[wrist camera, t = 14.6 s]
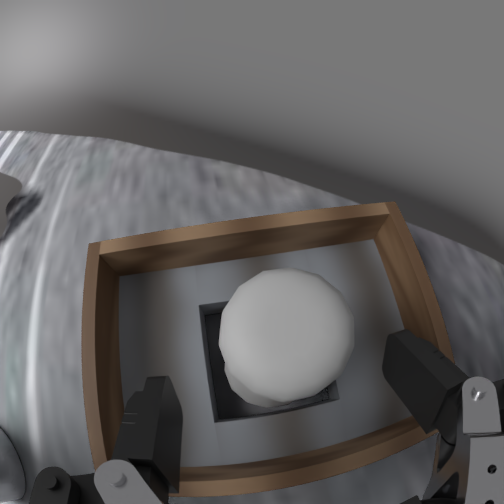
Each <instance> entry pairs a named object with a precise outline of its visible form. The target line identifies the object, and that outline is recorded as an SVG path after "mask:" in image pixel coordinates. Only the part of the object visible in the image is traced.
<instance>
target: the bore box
mask: <svg viewBox="0 0 504 504" xmlns="http://www.w3.org/2000/svg"><path fill="white" fill-rule="evenodd" d="M290 267H292V268H296V269H300V270H304V271H308V272H312V273H315V274H319V275H320V276H322V277H323V278H324V279H325V280H326V281H328V282H329V283H330V284H331V285H333V286H334V287H335V288H336V289H337V290H339V291H340V292H341V293H342V295H343V297H344V299H345V301H346V303H347V305H348V307H349V309H350V311H351V312H352V314H353V316H354V348H353V351H352V353H351V355H350V357H349V360H348V362H347V364H346V366H345V368H344V371H343V373H342V374H341V375H340V376H339V377H338V378H337V379H336V380H334V381H333V382H332V383H331V384H329V385H328V386H327V387H328V392H329V397H330V399H328V400H325V401H321V402H317V403H313V404H308V405H304V406H300V407H295V408H290V409H285V410H280V411H275V412H269V413H263V414H257V415H251V416H244V417H236V418H228V419H219V416H218V410H217V404H216V398H215V392H214V385H213V378H212V371H211V364H210V357H209V349H208V341H207V333H206V325H205V316H204V315H209V314H217V313H222V312H223V310H224V308H225V307H226V305H227V304H228V302H229V301H230V299H231V298H232V296H233V295H234V293H235V292H236V290H237V289H238V287H239V286H240V285H242V284H244V283H245V282H247V281H248V280H250V279H251V278H253V277H255V276H256V275H258V274H259V273H261V272H262V271H267V270H275V269H282V268H290ZM403 329H408V330H409V331H411V332H412V333H413V334H414V335H415V336H416V337H417V338H419V337H420V338H422V339H425V340H427V341H429V342H431V343H432V344H433V345H434V346H435V347H436V348H438V349H439V351H441V352H442V353H443V354H444V355H445V357H447V358H449V359H450V360H451V361H452V362H453V363H454V364H455V361H454V357H453V353H452V349H451V345H450V341H449V337H448V334H447V330H446V327H445V323H444V320H443V317H442V314H441V311H440V307H439V304H438V301H437V298H436V296H435V293H434V290H433V287H432V284H431V282H430V279H429V276H428V274H427V271H426V269H425V266H424V264H423V261H422V259H421V256H420V254H419V251H418V249H417V247H416V244H415V242H414V240H413V238H412V235H411V233H410V231H409V229H408V227H407V225H406V222H405V220H404V218H403V216H402V214H401V212H400V210H399V208H398V206H397V204H396V202H384V203H374V204H362V205H352V206H343V207H333V208H324V209H315V210H306V211H298V212H289V213H281V214H273V215H266V216H258V217H251V218H243V219H236V220H229V221H222V222H215V223H208V224H202V225H195V226H188V227H182V228H176V229H170V230H163V231H157V232H151V233H145V234H140V235H134V236H128V237H123V238H117V239H111V240H106V241H101V242H95V243H90V244H89V247H88V254H87V262H86V270H85V280H84V292H83V307H82V379H83V393H84V405H85V414H86V422H87V429H88V436H89V442H90V448H91V454H92V459H93V464H94V468H95V472H96V470H97V469H98V467H99V466H100V465H102V464H103V463H105V462H107V461H110V460H111V458H112V455H113V451H114V447H115V443H116V439H117V435H118V432H119V428H120V425H121V424H122V422H121V421H122V418H123V415H124V411H125V407H126V404H127V401H128V400H129V399H130V397H131V396H132V395H133V394H134V393H135V391H143V389H144V385H145V382H146V379H147V377H153V376H169V377H170V379H171V381H172V384H173V386H174V389H175V392H176V394H177V397H178V399H179V402H180V404H181V407H182V412H183V428H182V443H181V460H180V482H179V494H177V493H169V496H170V497H210V496H228V495H239V494H248V493H256V492H264V491H270V490H276V489H282V488H287V487H292V486H297V485H301V484H306V483H310V482H314V481H318V480H321V479H325V478H329V477H332V476H336V475H339V474H342V473H345V472H348V471H351V470H354V469H357V468H360V467H363V466H366V465H368V464H371V463H374V462H376V461H379V460H381V459H384V458H386V457H388V456H391V455H393V454H395V453H398V452H400V451H402V450H404V449H406V448H408V447H410V446H412V445H415V444H417V443H419V442H420V441H422V440H424V439H426V438H428V437H430V436H432V435H434V434H435V433H437V432H439V431H438V430H437V429H436V430H434V431H432V432H430V433H428V434H427V435H426V433H425V432H424V430H423V429H422V428H421V426H420V425H419V424H418V422H417V421H416V419H415V418H414V417H413V415H412V414H411V413H410V411H409V410H408V409H407V407H406V406H405V405H404V403H403V402H402V401H401V399H400V398H399V397H398V395H397V394H396V393H395V391H394V390H393V389H392V387H391V386H390V385H389V383H388V382H387V381H386V379H385V378H384V375H383V371H382V363H383V358H384V352H385V346H386V340H387V336H388V335H389V334H391V333H394V332H397V331H400V330H403Z"/></svg>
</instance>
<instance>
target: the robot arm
mask: <svg viewBox="0 0 504 504" xmlns="http://www.w3.org/2000/svg"><path fill="white" fill-rule="evenodd" d="M382 371H383V375H384V378H385V379H386V381H387V382H388V383H389V385H390V386H391V387H392V389H393V390H394V391H395V393H396V394H397V395H398V397H399V398H400V399H401V401H402V402H403V403H404V405H405V406H406V407H407V409H408V410H409V411H410V413H411V414H412V415H413V417H414V418H415V419H416V421H417V422H418V424H419V425H420V426H421V428H422V429H423V430H424V432H425V433H426V435H427V434H428V433H430V432H432V431H434V430H436V429H437V430H438V431H439V434H438V437H437V443H436V451H435V458H434V465H433V471H432V476H431V479H430V482H429V484H428V486H427V488H426V490H425V493H424V495H423V498H422V500H419V498H418V496H417V495H416V496H414V497H412V498H410V499H408V500H407V501H404V502H402V503H400V504H504V379H502V380H499V381H496V382H493V383H492V382H491V381H490V380H488V379H486V378H484V377H472V378H469V377H468V376H467V375H466V374H465V373H464V372H462V371H461V370H460V369H459V368H458V367H457V366H456V365H455V364H454V363H453V362H452V361H451V360H450V359H449V358H447V357H445V355H444V354H443V353H442V352H441V351H439V349H438V348H436V347H435V346H434V345H433V344H432V343H431V342H429V341H427V340H425V339H422V338H420V337H419V338H417V337H416V336H415V335H414V334H413V333H412V332H411V331H409V330H408V329H403V330H400V331H397V332H394V333H391V334H389V335H388V336H387V340H386V346H385V352H384V358H383V363H382ZM121 422H122V424H121V425H120V428H119V432H118V435H117V439H116V443H115V447H114V451H113V455H112V458H111V460H110V461H107V462H105V463H103V464H102V465H100V466H99V467H98V469H97V470H96V472H95V473H92V474H86V475H77V476H70V475H68V474H67V473H66V472H65V471H64V470H63V469H61V468H58V467H48V468H45V469H43V470H42V471H41V472H40V473H39V474H38V476H37V478H36V480H35V484H34V487H33V491H32V494H31V498H30V502H29V504H168V496H169V493H177V494H179V482H180V460H181V443H182V428H183V412H182V407H181V404H180V402H179V399H178V397H177V394H176V392H175V389H174V386H173V384H172V381H171V379H170V377H169V376H153V377H147V379H146V382H145V385H144V389H143V391H135V393H134V394H133V395H132V396H131V397H130V399H129V400H128V401H127V404H126V407H125V411H124V415H123V418H122V421H121ZM25 488H26V487H25V477H24V472H23V468H22V465H21V462H20V460H19V457H18V455H17V453H16V451H15V449H14V447H13V445H12V443H11V441H10V440H9V438H8V437H7V435H6V434H5V433H4V431H3V430H2V429H1V428H0V503H2V502H8V501H13V500H18V499H20V498H22V497H23V495H24V493H25Z"/></svg>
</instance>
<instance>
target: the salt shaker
mask: <svg viewBox="0 0 504 504" xmlns="http://www.w3.org/2000/svg"><path fill="white" fill-rule="evenodd" d="M219 347H220V350H221V352H222V355H223V358H224V361H225V369H224V370H225V373H226V376H227V378H228V381H229V384H230V386H231V389H232V390H233V391H235V392H236V393H237V394H238V395H239V396H240V397H241V398H242V399H244V400H245V401H246V402H247V403H251V404H254V405H257V406H261V407H265V408H271V407H277V406H283V405H288V404H289V403H291V402H292V401H294V400H298V399H302V398H307V397H311V396H315V395H316V394H317V393H319V392H320V391H321V390H323V389H324V388H325V387H327V386H328V385H329V384H331V383H332V382H333V381H334V380H336V379H337V378H338V377H339V376H340V375H341V374H342V373H343V371H344V368H345V366H346V364H347V362H348V360H349V357H350V355H351V353H352V351H353V348H354V316H353V314H352V312H351V311H350V309H349V307H348V305H347V303H346V301H345V299H344V297H343V295H342V293H341V292H340V291H339V290H337V289H336V288H335V287H334V286H333V285H331V284H330V283H329V282H328V281H326V280H325V279H324V278H323V277H322V276H320V275H319V274H315V273H312V272H308V271H304V270H300V269H296V268H292V267H290V268H282V269H275V270H267V271H262V272H261V273H259V274H258V275H256V276H255V277H253V278H251V279H250V280H248V281H247V282H245V283H244V284H242V285H240V286H239V287H238V289H237V290H236V292H235V293H234V295H233V296H232V298H231V299H230V301H229V302H228V304H227V305H226V307H225V308H224V310H223V312H222V317H221V326H220V336H219Z"/></svg>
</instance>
